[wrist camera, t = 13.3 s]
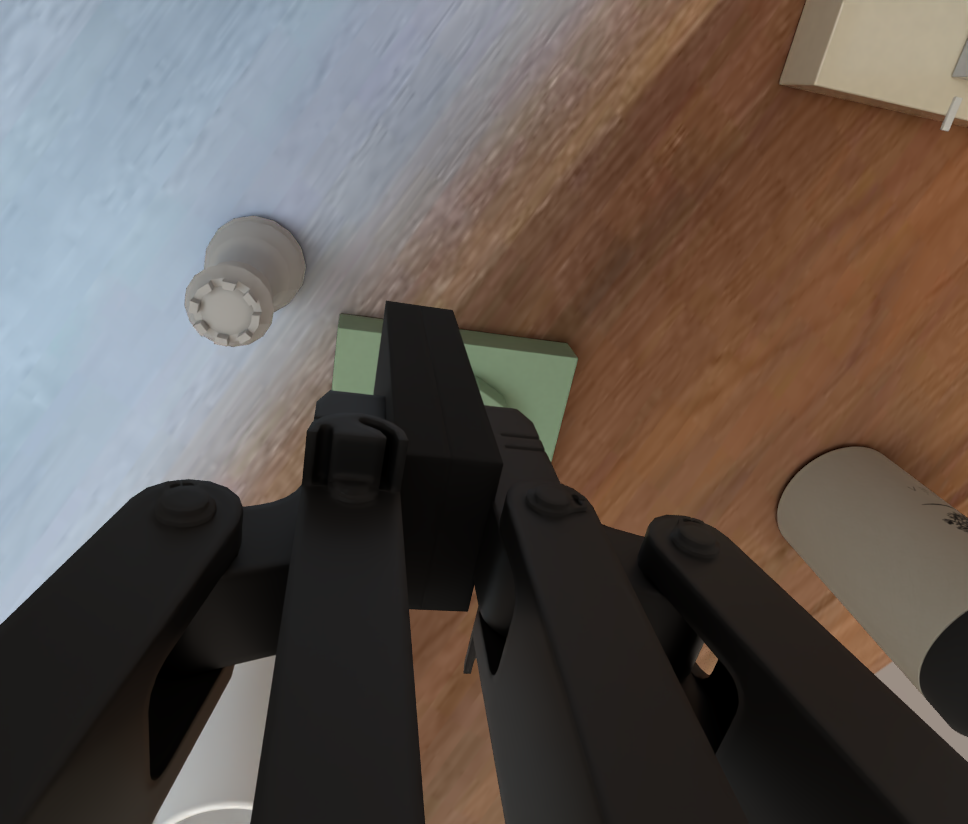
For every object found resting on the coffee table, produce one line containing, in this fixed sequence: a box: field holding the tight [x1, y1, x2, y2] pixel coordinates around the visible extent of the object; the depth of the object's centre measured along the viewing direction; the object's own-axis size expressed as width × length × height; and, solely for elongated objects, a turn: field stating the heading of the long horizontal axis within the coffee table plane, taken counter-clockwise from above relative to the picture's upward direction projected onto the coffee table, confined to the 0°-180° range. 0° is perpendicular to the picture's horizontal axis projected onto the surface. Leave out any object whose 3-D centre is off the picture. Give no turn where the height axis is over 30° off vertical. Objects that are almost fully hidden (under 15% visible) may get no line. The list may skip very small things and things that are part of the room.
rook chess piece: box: [184, 216, 306, 347], centre depth 29 cm, size 4×4×8 cm
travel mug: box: [777, 447, 968, 737], centre depth 36 cm, size 8×8×18 cm
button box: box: [332, 314, 578, 462], centre depth 35 cm, size 12×10×4 cm
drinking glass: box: [152, 655, 276, 824], centre depth 35 cm, size 7×7×15 cm
